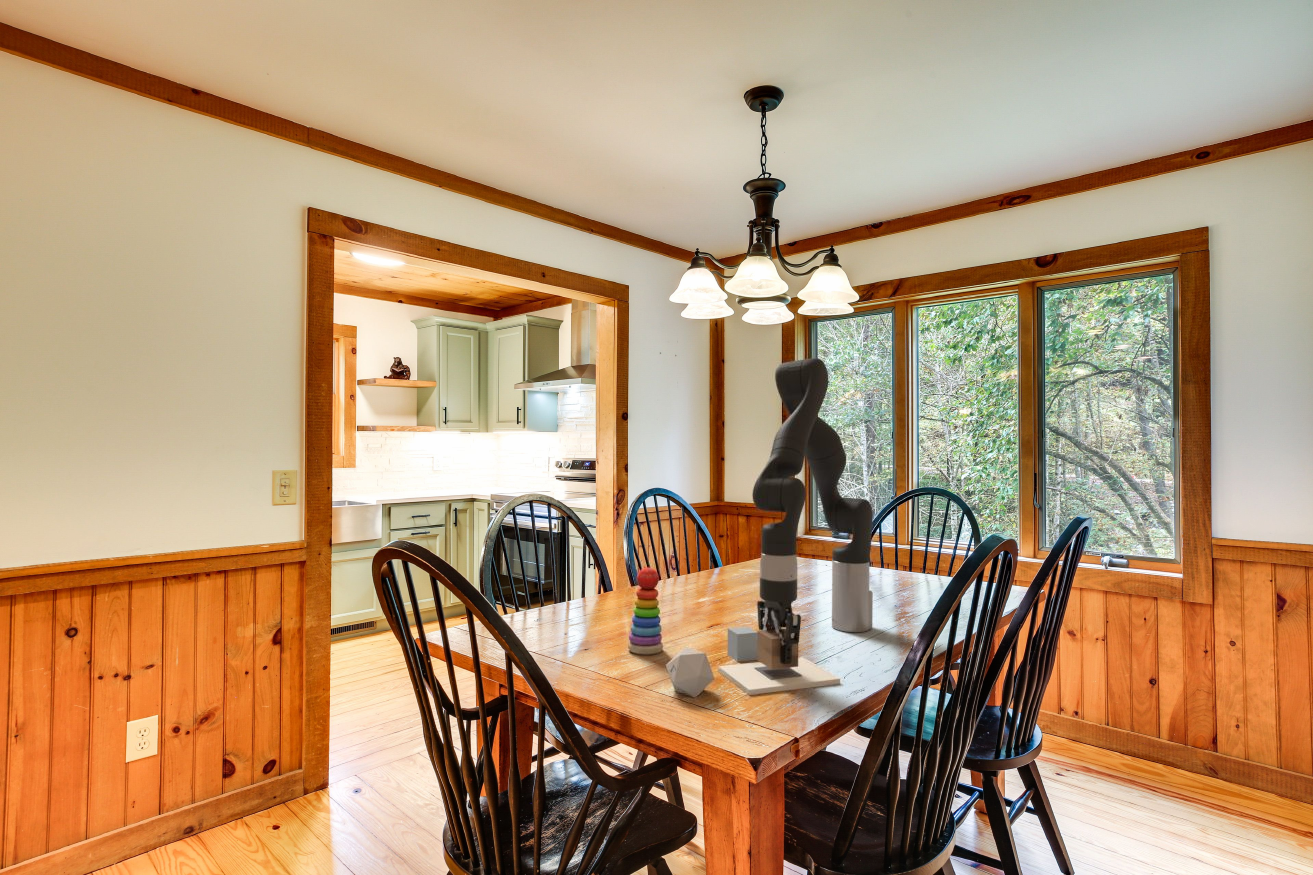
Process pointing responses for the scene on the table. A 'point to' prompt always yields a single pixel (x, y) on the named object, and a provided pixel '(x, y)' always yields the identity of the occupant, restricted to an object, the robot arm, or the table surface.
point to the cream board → (777, 677)
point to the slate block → (742, 643)
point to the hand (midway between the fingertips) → (777, 658)
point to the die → (690, 672)
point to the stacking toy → (646, 616)
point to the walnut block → (773, 650)
